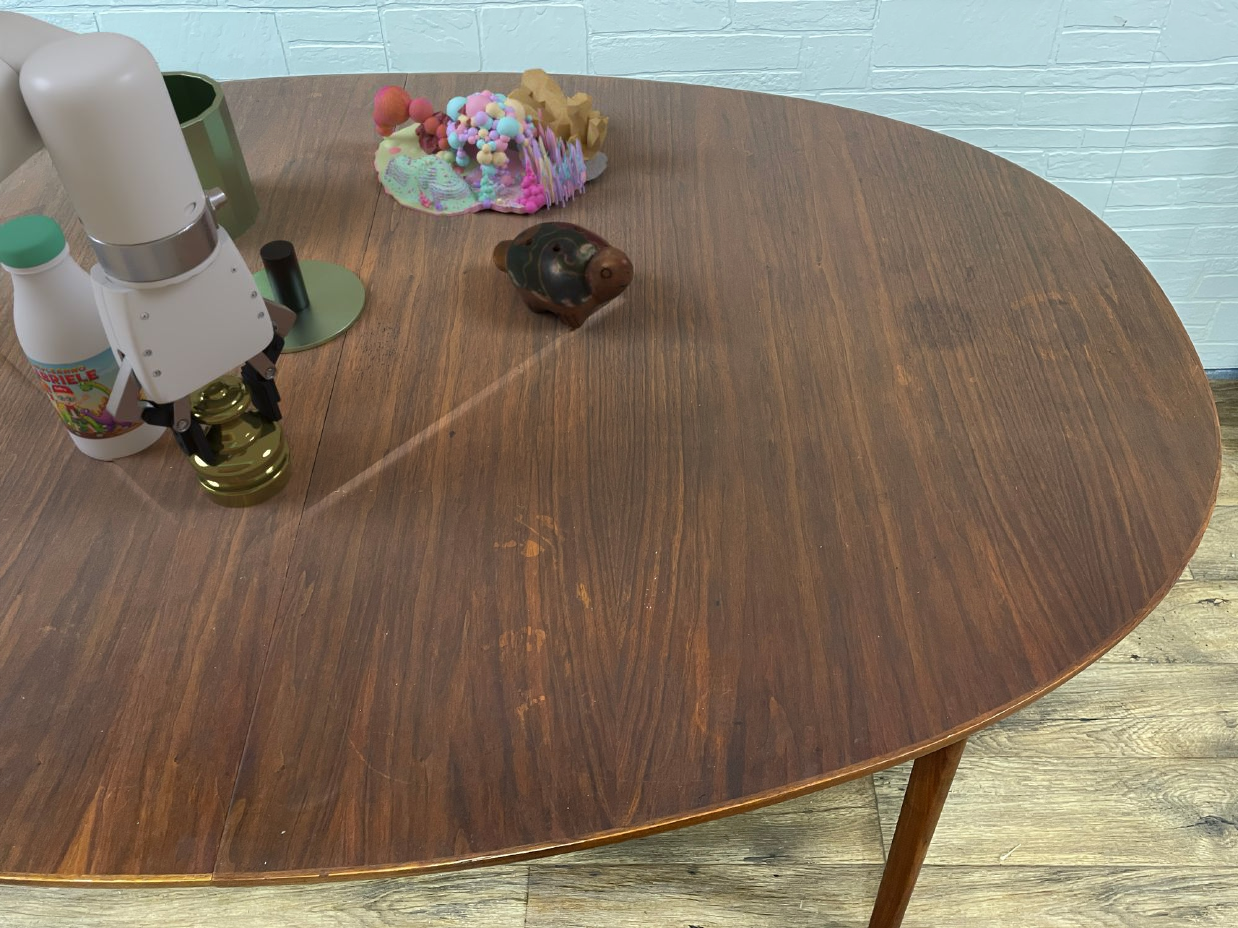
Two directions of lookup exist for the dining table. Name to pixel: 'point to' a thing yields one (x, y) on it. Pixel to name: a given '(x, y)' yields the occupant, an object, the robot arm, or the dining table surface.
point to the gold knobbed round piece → (238, 446)
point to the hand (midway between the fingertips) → (234, 431)
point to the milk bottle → (67, 338)
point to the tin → (214, 146)
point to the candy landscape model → (489, 148)
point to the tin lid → (310, 295)
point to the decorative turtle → (563, 269)
